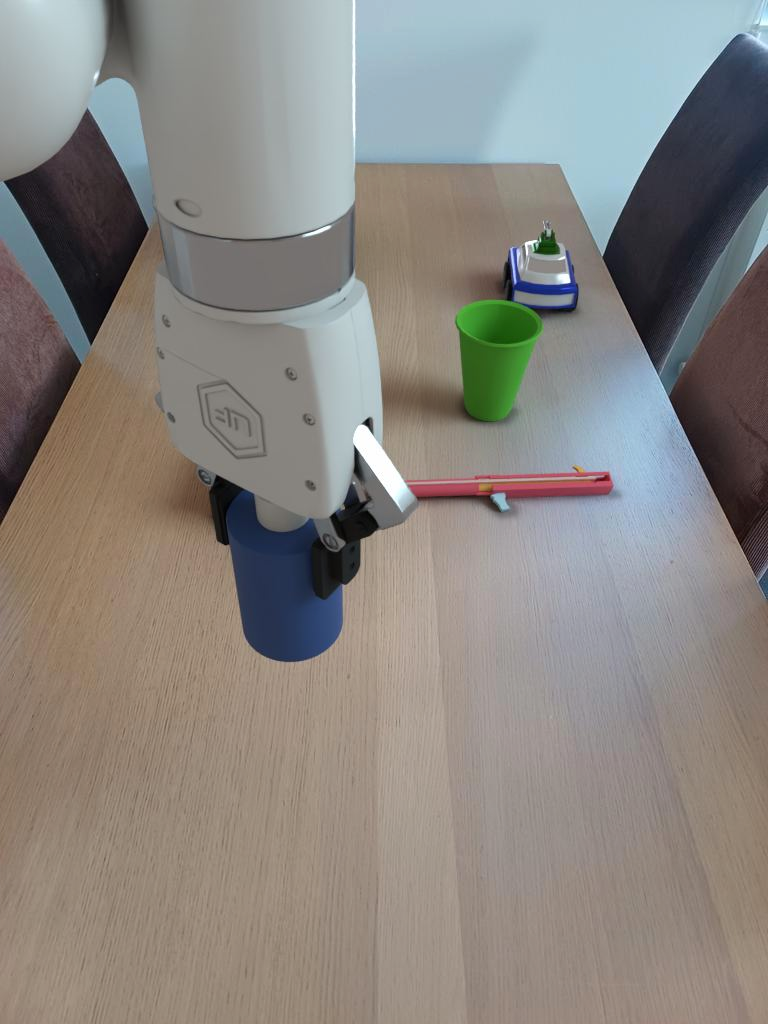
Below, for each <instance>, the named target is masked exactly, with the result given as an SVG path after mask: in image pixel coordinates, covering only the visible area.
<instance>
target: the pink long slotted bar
mask: <svg viewBox="0 0 768 1024" xmlns="http://www.w3.org/2000/svg"><path fill="white" fill-rule="evenodd" d="M572 470H574V471H576V472H553V473H528V474H527V473H526V474H525V473H524V474H487V475H486V474H484V475H481V474H480V475H474V477H470V478H469V477H468V478H441V479H440V478H439V479H436V478H435V479H411V480H410V479H408V480H407V479H406V480H405V479H404V480H405V482H406V483H407V485H408V486H409V488H410V489H411V490H412V492H413V493H414V495H415V496H416V498H426V497H428V498H429V497H453V496H454V497H455V496H457V497H458V496H477V497H478V496H479V497H480V496H489V498H490V499H492V503H494V504H495V505H496V506H497V507H498V509H499V511H500V512H501V513H503V512H508V511H509V510H510V508H511V507H510V506H509V505H508V503H507V501H506V499H515V498H516V499H517V498H542V497H543V498H545V497H546V498H547V497H570V496H574V497H575V496H596V495H600V496H601V495H610V493H611V491H612V490H613V488H614V481H613V479H612V477H611V473H610V471H586V470H585V469H584V468H583V467H581V466H579V465H573V466H572ZM367 497H370V496H369V494H368V493H367Z"/></svg>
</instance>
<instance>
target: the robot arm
mask: <svg viewBox="0 0 768 1024" xmlns="http://www.w3.org/2000/svg"><path fill="white" fill-rule="evenodd" d="M111 79H121V80H123V81H125V82H126V83H127V84H129V85H130V87H131V88H132V90H133V91H134V93H135V96H136V101H137V106H138V112H139V118H140V124H141V129H142V130H141V131H142V136H143V140H144V146H145V153H146V157H147V164H148V169H149V176H150V180H151V187H152V192H153V194H152V202H151V203H152V207H153V209H154V211H155V212H156V216H157V223H158V228H159V234H160V238H161V240H160V241H161V245H162V250H163V251H162V252H163V256H164V257H163V258H162V259H161V260H160V261H159V262H158V264H157V266H156V271H155V272H156V273H155V278H154V279H155V280H154V292H153V326H154V329H153V330H154V331H153V332H154V345H155V356H156V357H155V358H156V366H157V374H158V381H159V382H158V383H159V389H160V390H159V392H157V393H156V394H155V395H154V401H155V403H156V405H157V406H158V408H159V409H160V410H161V412H162V413H163V414H164V419H165V424H166V429H167V432H168V436H169V438H170V441H171V444H172V445H173V447H174V448H175V449H176V450H177V451H178V452H179V453H180V454H181V455H183V457H185V458H186V459H188V461H189V460H190V461H191V462H193V463H194V464H196V469H195V474H196V477H197V479H198V480H199V482H200V483H201V484H202V485H204V486H205V487H207V488H210V489H209V490H208V497H209V504H210V509H211V514H212V521H213V526H214V532H215V539H216V541H217V542H218V543H219V544H222V545H223V546H230V544H229V537H228V531H227V524H226V515H227V511H228V508H229V506H230V504H231V502H232V501H233V499H234V498H235V497H236V496H237V495H238V494H239V493H240V492H241V491H243V490H244V489H246V490H248V491H250V492H252V493H254V494H256V495H258V496H260V497H262V498H264V499H266V500H268V501H270V502H272V503H274V504H276V505H278V506H280V507H282V508H284V509H286V510H289V511H291V512H293V513H295V514H298V515H300V516H304V517H307V518H312V520H313V522H314V525H315V527H316V530H317V532H318V535H319V537H318V538H317V539H316V540H315V541H314V542H313V544H312V546H311V555H312V573H313V591H314V592H315V595H316V596H317V597H319V598H321V599H322V600H326V599H327V598H328V597H329V596H330V595H331V594H332V593H333V592H334V591H335V590H336V589H337V588H338V587H339V586H340V585H341V584H342V586H347V585H348V584H350V582H351V581H352V580H353V579H354V578H356V576H357V574H358V573H359V571H360V568H361V564H362V563H361V562H362V561H361V560H362V558H361V556H362V554H361V552H362V549H361V547H362V544H361V543H362V540H363V539H366V538H368V537H371V536H372V535H373V534H374V533H375V532H378V531H384V530H387V529H390V528H394V527H397V526H399V525H403V524H404V522H406V521H407V520H408V519H409V517H411V515H413V513H414V512H415V511H416V510H417V509H418V508H419V505H420V504H419V500H418V497H416V496H415V495H414V493H413V492H412V490H411V489H410V488H409V486H408V485H407V483H406V482H405V479H404V478H403V476H402V474H401V473H400V472H399V471H398V469H397V467H396V466H395V465H394V463H393V462H392V460H391V459H390V457H389V455H387V453H386V452H385V450H384V449H383V436H384V427H383V425H384V422H383V421H384V420H383V418H384V416H383V415H384V414H383V412H384V411H383V394H382V378H381V368H380V357H379V349H378V343H377V342H378V341H377V335H376V330H375V323H374V318H373V313H372V308H371V304H370V299H369V295H368V289H367V286H366V283H364V282H362V280H360V279H358V278H356V198H355V197H356V177H355V176H356V175H355V173H356V0H0V183H3V182H5V181H8V180H11V179H14V178H16V177H17V178H18V177H20V176H22V175H25V174H27V173H30V172H32V171H35V169H36V168H38V167H40V166H41V165H42V164H44V163H46V162H48V161H49V160H50V159H52V158H53V157H54V156H55V155H56V154H57V153H58V152H60V151H61V150H62V148H63V147H64V146H65V145H66V144H67V142H69V140H70V139H71V138H72V136H73V134H74V133H75V131H76V130H77V128H78V126H79V124H80V123H81V121H82V119H83V116H84V115H85V113H86V111H87V109H88V107H89V104H90V101H91V98H92V96H93V93H94V91H95V89H96V87H99V86H100V85H101V84H103V83H104V82H106V81H108V80H111ZM365 491H366V493H367V495H368V494H369V496H368V497H370V498H367V495H366V493H365ZM342 506H343V507H344V508H343V509H341V511H340V512H339V513H338V514H337V515H336V511H337V510H338V509H339V508H341V507H342Z"/></svg>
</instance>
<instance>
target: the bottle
mask: <svg viewBox="0 0 768 1024" xmlns="http://www.w3.org/2000/svg"><path fill="white" fill-rule="evenodd" d="M341 510H342V509H341V507H340V508H339V509H338V510H337V511H336V515H337V514H338V513H339V512H340V511H341ZM226 524H227V531H228V537H229V544H230V545H229V550H230V556H231V562H232V568H233V576H234V582H235V587H236V595H237V601H238V606H239V614H240V620H241V626H242V627H241V628H242V632H243V633H242V634H243V635H244V638H245V640H246V642H247V643H248V645H249V646H250V647H251V649H253V650H254V651H255V652H256V653H258V654H259V655H261V656H262V657H265V658H266V659H270V660H271V661H276V662H281V663H299V662H303V661H308V660H311V659H313V658H315V657H318V656H320V655H322V654H323V653H325V652H326V651H327V650H329V649H330V648H331V647H333V645H334V644H335V643H336V642H337V640H338V639H339V636H340V634H341V633H342V629H343V625H344V598H343V595H344V591H343V590H344V589H343V584H341V585H340V586H339V587H338V588H337V589H336V590H335V591H334V592H333V593H332V594H331V595H330V596H329V597H328V598H327V599H326V600H322V599H321V598H319V597H317V596H316V595H315V592H314V591H313V573H312V555H311V546H312V544H313V542H314V541H315V540H316V539H317V538H318V537H319V535H318V532H317V530H316V527H315V525H314V522H313V520H312V518H307V517H304V516H300V515H298V514H295V513H293V512H291V511H289V510H286V509H284V508H282V507H280V506H278V505H276V504H274V503H272V502H270V501H268V500H266V499H264V498H262V497H260V496H258V495H256V494H254V493H252V492H250V491H248V490H246V489H244V490H243V491H241V492H240V493H239V494H238V495H237V496H236V497H235V498H234V499H233V501H232V502H231V504H230V506H229V508H228V511H227V515H226Z"/></svg>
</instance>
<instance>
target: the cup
mask: <svg viewBox="0 0 768 1024" xmlns="http://www.w3.org/2000/svg"><path fill="white" fill-rule="evenodd" d="M454 324H455V327H456V330H458V338H459V352H460V363H461V376H462V377H461V379H462V390H463V401H464V402H463V403H464V406H465V409H466V412H467V413H468V414H469V415H470V416H471V417H473V418H474V419H476V420H479V421H482V422H483V421H484V422H496V421H501V420H503V419H504V418H506V417H507V416H509V414H510V413H511V411H512V409H513V406H514V403H515V400H516V397H517V394H518V391H519V390H520V387H521V383H522V381H523V379H524V375H525V373H526V371H527V367H528V365H529V362H530V358H531V355H532V353H533V350H534V347H535V344H536V342H537V340H538V338H540V337H541V336H542V334H543V331H544V323H543V321H542V318H541V316H540V315H539V314H538V313H537V312H536V311H535V310H534V309H531V307H526V306H523V305H521V304H518V303H515V302H511V301H505V299H484V300H479V301H474V302H471V303H469V304H467V305H465V306H464V307H462V308H461V309H460V310H459V311H458V313H457V315H456V316H455V320H454Z"/></svg>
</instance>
